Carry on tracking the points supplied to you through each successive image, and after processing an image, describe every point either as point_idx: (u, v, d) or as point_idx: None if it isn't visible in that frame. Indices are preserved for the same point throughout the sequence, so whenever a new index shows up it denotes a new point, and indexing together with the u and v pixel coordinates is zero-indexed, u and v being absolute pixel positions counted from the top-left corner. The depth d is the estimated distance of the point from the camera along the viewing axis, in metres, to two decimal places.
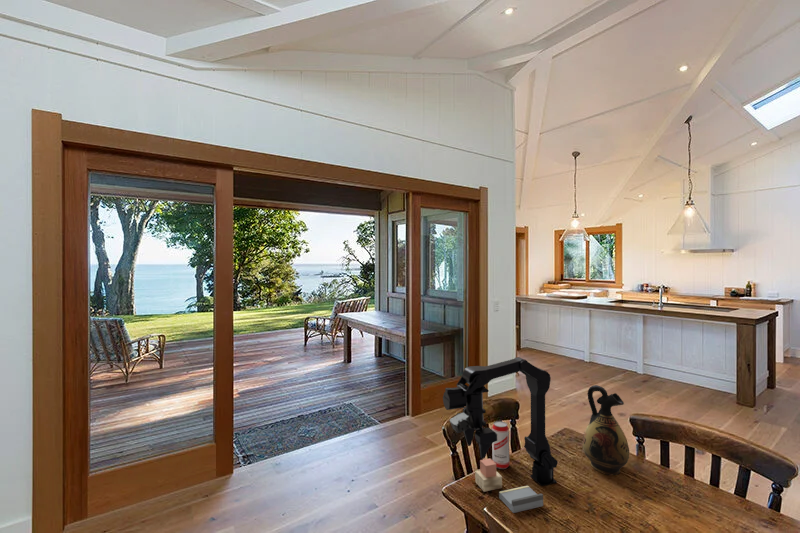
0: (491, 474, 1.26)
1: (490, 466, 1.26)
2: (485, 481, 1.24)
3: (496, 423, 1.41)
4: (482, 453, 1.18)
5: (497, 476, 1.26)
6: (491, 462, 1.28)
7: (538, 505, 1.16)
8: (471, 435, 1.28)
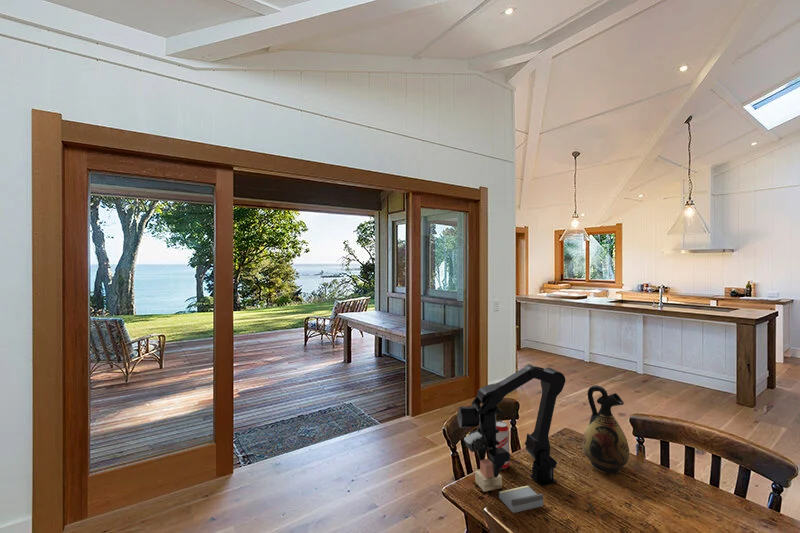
0: (491, 474, 1.26)
1: (490, 466, 1.26)
2: (485, 481, 1.24)
3: (496, 423, 1.41)
4: (495, 472, 1.23)
5: None
6: (491, 462, 1.28)
7: (538, 505, 1.16)
8: (484, 453, 1.33)
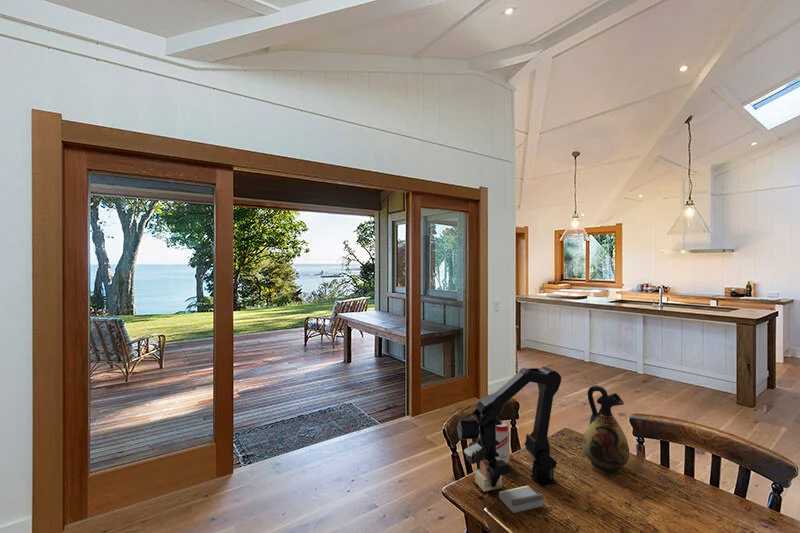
0: None
1: None
2: (485, 481, 1.24)
3: None
4: (493, 482, 1.24)
5: None
6: None
7: (538, 505, 1.16)
8: None
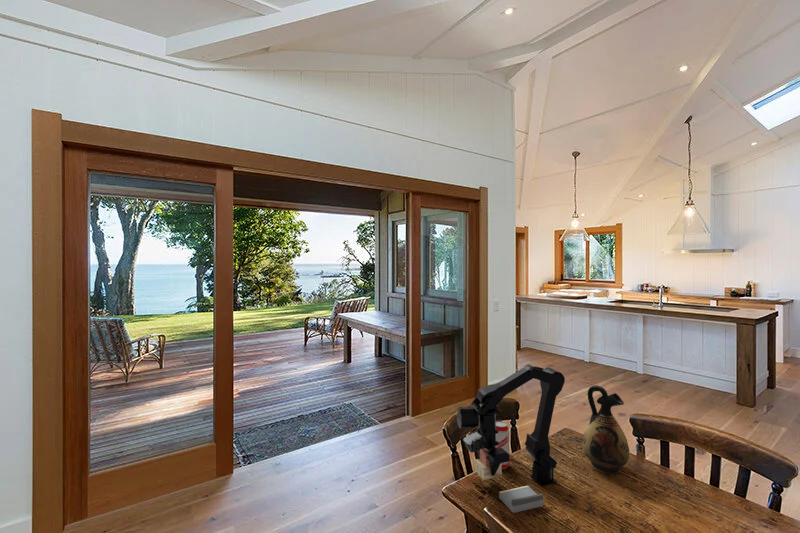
0: None
1: None
2: (485, 469, 1.24)
3: (496, 423, 1.41)
4: (492, 470, 1.24)
5: None
6: None
7: (538, 505, 1.16)
8: None
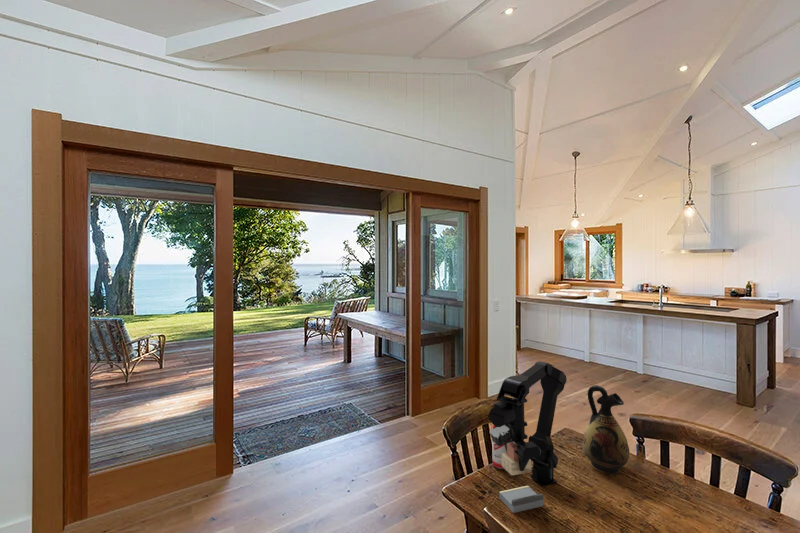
0: None
1: None
2: (513, 464, 1.16)
3: None
4: (521, 465, 1.16)
5: None
6: None
7: (538, 505, 1.16)
8: None
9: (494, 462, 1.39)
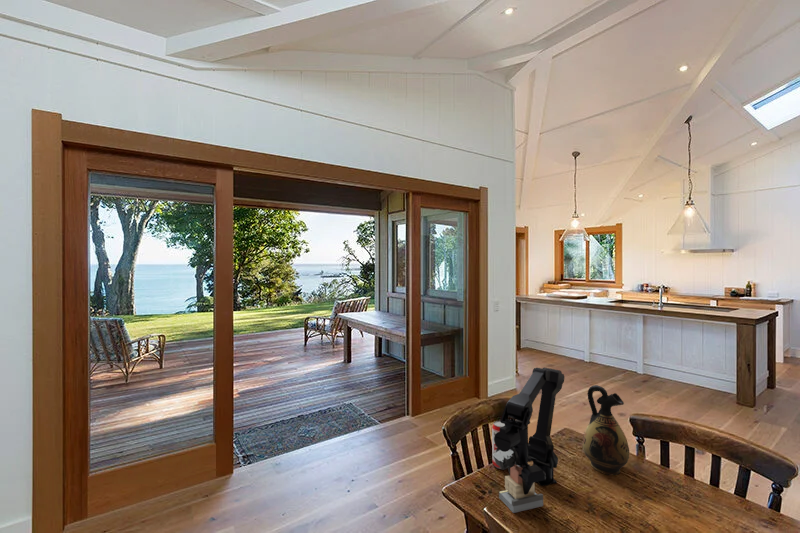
0: None
1: None
2: (517, 488, 1.15)
3: (496, 423, 1.41)
4: (526, 489, 1.15)
5: None
6: None
7: (538, 505, 1.16)
8: None
9: (494, 462, 1.39)
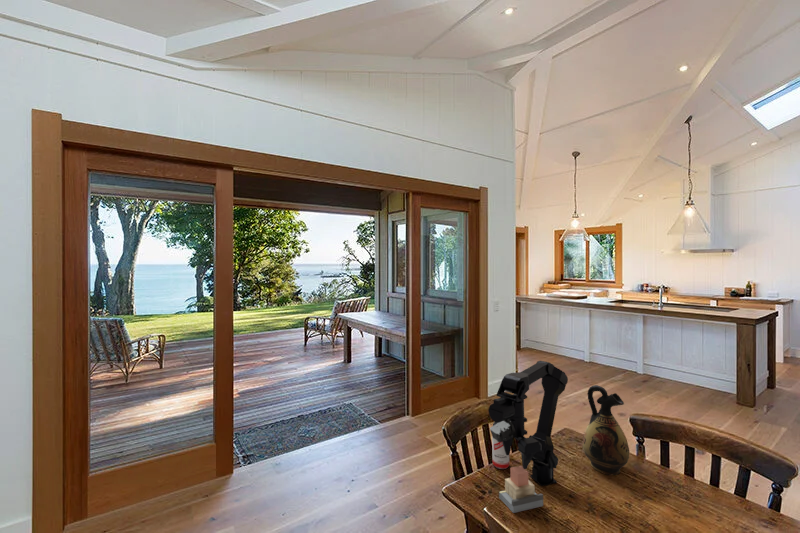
0: (523, 483, 1.17)
1: (522, 474, 1.17)
2: (517, 491, 1.15)
3: None
4: (525, 463, 1.15)
5: (529, 485, 1.17)
6: (523, 469, 1.19)
7: (538, 505, 1.16)
8: (510, 444, 1.25)
9: (494, 462, 1.39)
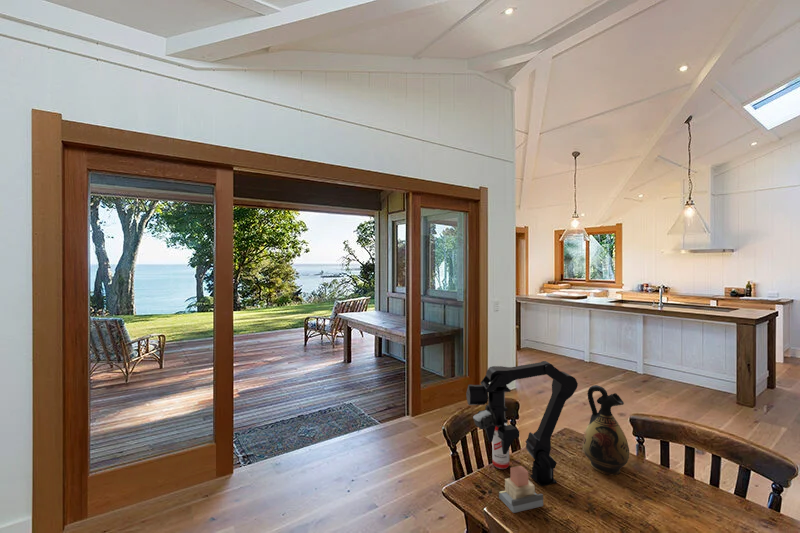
0: (523, 483, 1.17)
1: (522, 474, 1.17)
2: (517, 491, 1.15)
3: None
4: (504, 449, 1.24)
5: (529, 485, 1.17)
6: (523, 469, 1.19)
7: (538, 505, 1.16)
8: (492, 432, 1.35)
9: (494, 462, 1.39)
